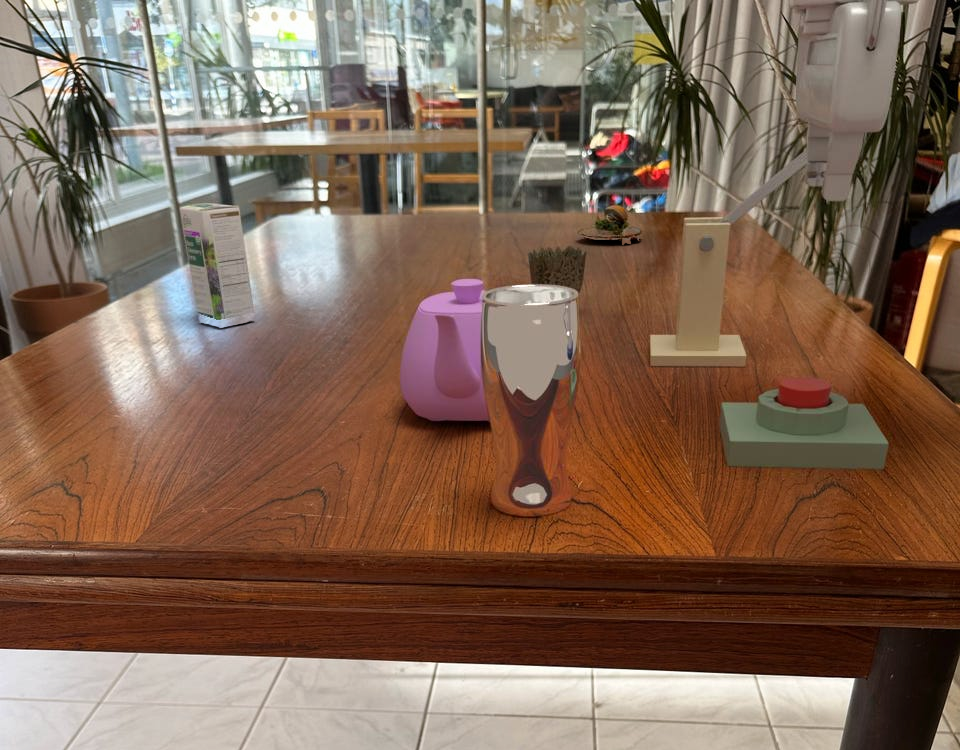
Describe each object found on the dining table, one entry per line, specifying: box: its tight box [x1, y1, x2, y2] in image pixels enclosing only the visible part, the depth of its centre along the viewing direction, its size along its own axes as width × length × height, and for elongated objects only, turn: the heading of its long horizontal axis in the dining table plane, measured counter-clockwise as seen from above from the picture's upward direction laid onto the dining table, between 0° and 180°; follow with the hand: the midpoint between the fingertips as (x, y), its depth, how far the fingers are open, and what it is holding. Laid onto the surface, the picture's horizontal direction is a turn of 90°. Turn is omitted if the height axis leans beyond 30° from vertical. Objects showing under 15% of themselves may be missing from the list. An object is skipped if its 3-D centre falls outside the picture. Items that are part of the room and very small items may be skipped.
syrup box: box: [179, 202, 255, 320], centre depth 123 cm, size 6×6×14 cm
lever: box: [705, 148, 807, 227], centre depth 95 cm, size 16×5×2 cm
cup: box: [527, 245, 588, 294], centre depth 122 cm, size 8×7×8 cm
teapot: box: [399, 278, 490, 423], centre depth 87 cm, size 20×13×12 cm, turn 170°
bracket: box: [649, 216, 747, 368], centre depth 101 cm, size 10×9×14 cm
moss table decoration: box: [577, 197, 643, 239], centre depth 172 cm, size 12×12×8 cm
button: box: [777, 376, 832, 409], centre depth 77 cm, size 4×4×2 cm
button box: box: [718, 388, 890, 470], centre depth 78 cm, size 12×10×4 cm
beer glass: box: [480, 283, 582, 518], centre depth 67 cm, size 7×7×15 cm
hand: (824, 192), depth 74 cm, fingers open, 8 cm apart
